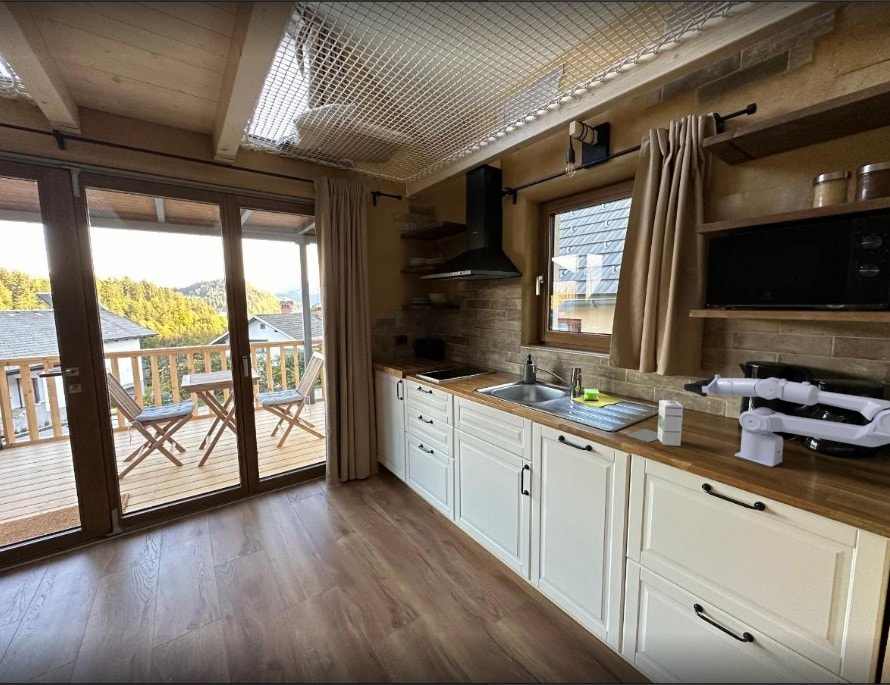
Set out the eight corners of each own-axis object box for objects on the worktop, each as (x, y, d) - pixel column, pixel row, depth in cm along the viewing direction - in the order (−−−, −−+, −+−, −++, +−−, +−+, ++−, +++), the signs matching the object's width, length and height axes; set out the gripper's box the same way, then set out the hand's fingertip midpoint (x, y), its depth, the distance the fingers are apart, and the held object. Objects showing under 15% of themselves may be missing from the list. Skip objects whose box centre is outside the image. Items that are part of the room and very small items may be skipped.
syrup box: (681, 446, 123) (684, 405, 121) (662, 445, 124) (665, 404, 122) (674, 439, 128) (677, 400, 126) (655, 438, 130) (658, 399, 127)
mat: (667, 436, 132) (667, 435, 132) (648, 442, 126) (648, 441, 126) (645, 429, 140) (645, 428, 140) (625, 435, 134) (625, 434, 134)
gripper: (744, 371, 120) (700, 372, 132) (722, 377, 113) (677, 377, 125) (747, 393, 120) (703, 391, 132) (725, 400, 113) (680, 397, 125)
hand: (690, 385), depth 129 cm, fingers open, 7 cm apart
